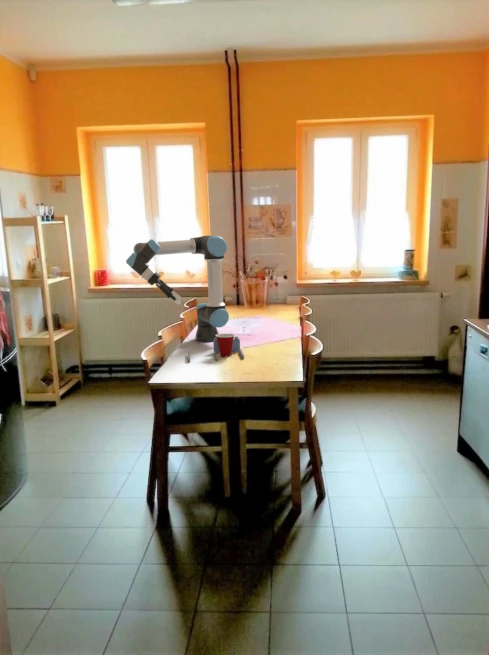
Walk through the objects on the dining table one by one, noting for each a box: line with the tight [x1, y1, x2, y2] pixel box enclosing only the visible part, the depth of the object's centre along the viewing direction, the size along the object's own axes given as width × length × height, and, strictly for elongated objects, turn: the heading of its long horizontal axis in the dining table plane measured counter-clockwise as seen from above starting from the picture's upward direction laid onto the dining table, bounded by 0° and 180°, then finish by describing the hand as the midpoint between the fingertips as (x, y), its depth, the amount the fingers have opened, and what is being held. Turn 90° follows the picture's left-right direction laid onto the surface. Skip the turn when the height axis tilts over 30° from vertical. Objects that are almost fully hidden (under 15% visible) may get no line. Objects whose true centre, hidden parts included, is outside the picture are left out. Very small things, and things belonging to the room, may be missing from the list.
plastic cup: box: [215, 333, 236, 358], centre depth 279 cm, size 11×11×12 cm
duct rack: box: [187, 335, 245, 363], centre depth 277 cm, size 18×30×9 cm, turn 97°
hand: (180, 301), depth 281 cm, fingers open, 13 cm apart
